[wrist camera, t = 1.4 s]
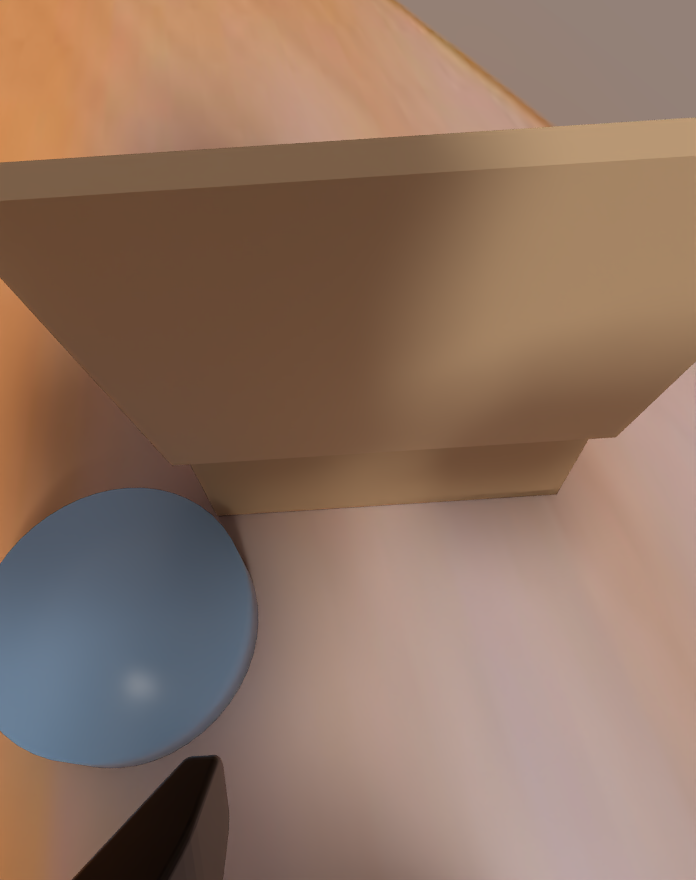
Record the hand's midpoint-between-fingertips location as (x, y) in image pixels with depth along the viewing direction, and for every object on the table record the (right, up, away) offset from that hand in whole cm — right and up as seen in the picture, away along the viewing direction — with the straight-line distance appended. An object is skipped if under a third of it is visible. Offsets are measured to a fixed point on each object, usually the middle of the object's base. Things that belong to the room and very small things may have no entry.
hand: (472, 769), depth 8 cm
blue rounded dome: (-8, -2, +13) cm, 15 cm away
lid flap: (0, +6, +5) cm, 8 cm away
